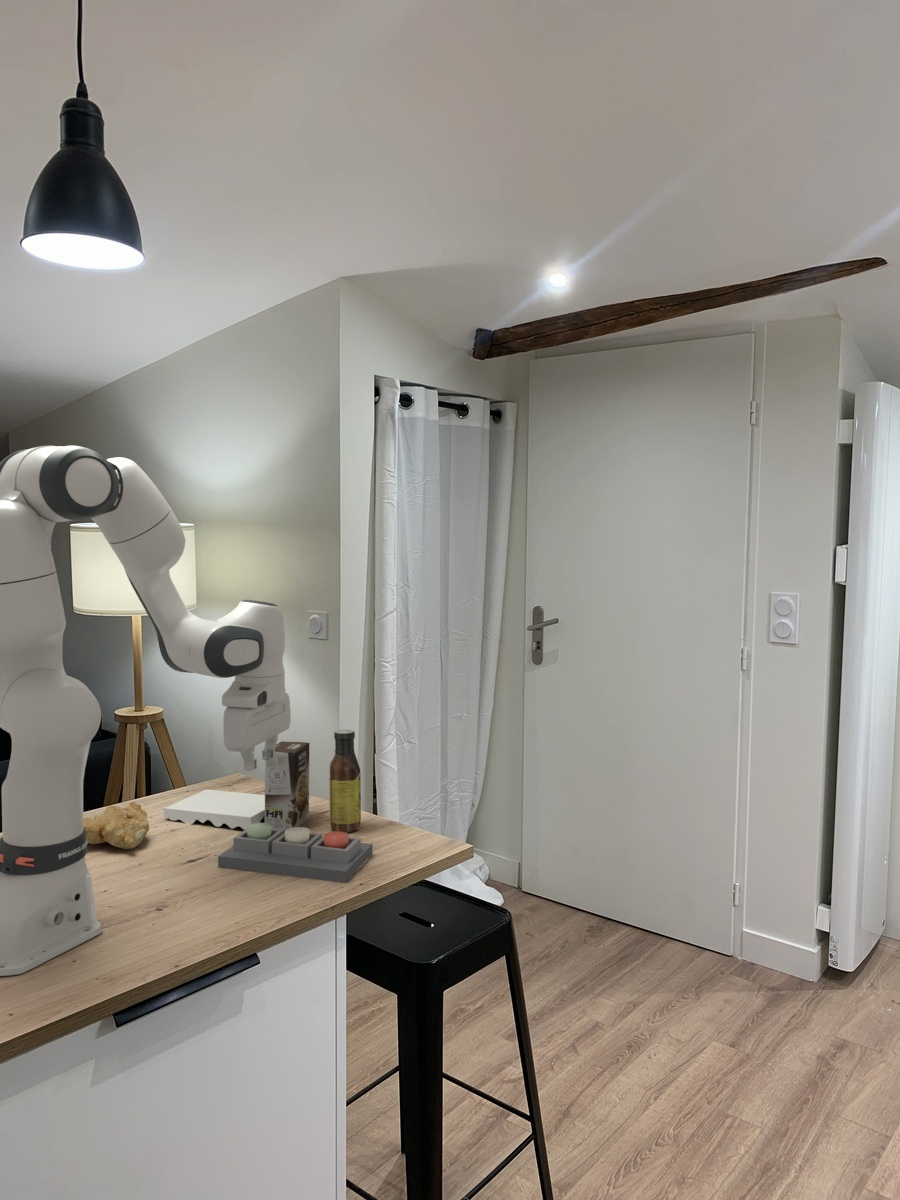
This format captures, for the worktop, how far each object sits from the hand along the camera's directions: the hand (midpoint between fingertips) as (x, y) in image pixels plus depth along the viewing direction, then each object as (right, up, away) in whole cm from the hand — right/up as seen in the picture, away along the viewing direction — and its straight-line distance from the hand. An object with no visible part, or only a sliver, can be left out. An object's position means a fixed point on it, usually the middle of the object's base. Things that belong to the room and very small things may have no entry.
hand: (259, 764), depth 167 cm
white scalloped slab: (-12, -16, +24) cm, 31 cm away
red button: (+14, -14, -2) cm, 20 cm away
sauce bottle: (+14, -16, +18) cm, 27 cm away
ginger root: (-28, -16, +7) cm, 33 cm away
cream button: (+7, -14, -1) cm, 16 cm away
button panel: (+7, -17, 0) cm, 19 cm away
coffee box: (+2, -16, +20) cm, 25 cm away
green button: (0, -14, +1) cm, 14 cm away
